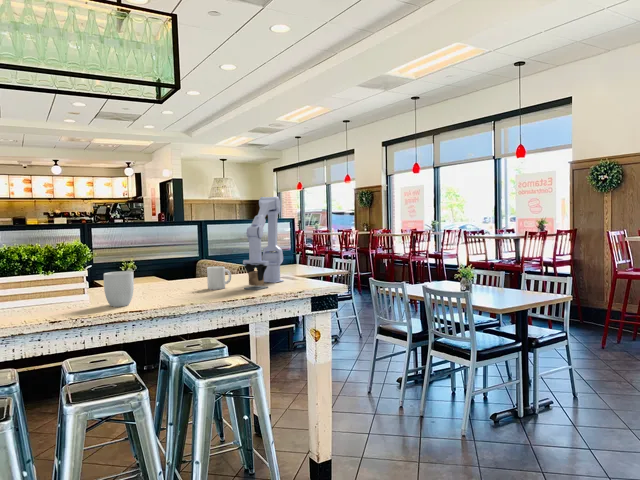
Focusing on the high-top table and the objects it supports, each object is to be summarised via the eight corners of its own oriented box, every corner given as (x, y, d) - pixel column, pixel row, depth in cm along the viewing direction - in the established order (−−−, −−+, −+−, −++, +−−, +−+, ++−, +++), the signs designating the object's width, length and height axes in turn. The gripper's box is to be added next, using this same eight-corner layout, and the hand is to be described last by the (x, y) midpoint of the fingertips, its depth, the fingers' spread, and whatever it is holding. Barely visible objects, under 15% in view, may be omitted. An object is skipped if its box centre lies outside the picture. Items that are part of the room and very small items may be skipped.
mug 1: (113, 301, 202) (111, 270, 201) (140, 300, 203) (139, 269, 202) (100, 308, 187) (99, 274, 186) (130, 307, 188) (128, 274, 187)
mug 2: (228, 285, 241) (227, 265, 240) (235, 287, 234) (234, 266, 234) (205, 288, 234) (204, 267, 233) (211, 290, 227) (211, 268, 227)
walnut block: (248, 284, 230) (248, 272, 229) (256, 283, 234) (255, 271, 233) (256, 285, 227) (256, 272, 226) (263, 284, 231) (263, 271, 230)
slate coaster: (244, 289, 229) (244, 287, 229) (255, 286, 236) (255, 285, 236) (256, 290, 225) (256, 289, 225) (268, 287, 231) (268, 286, 231)
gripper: (238, 251, 230) (239, 280, 231) (261, 252, 222) (261, 282, 222) (248, 250, 236) (249, 278, 237) (271, 251, 228) (272, 280, 228)
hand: (256, 280), depth 230 cm, fingers closed on walnut block, 5 cm apart
